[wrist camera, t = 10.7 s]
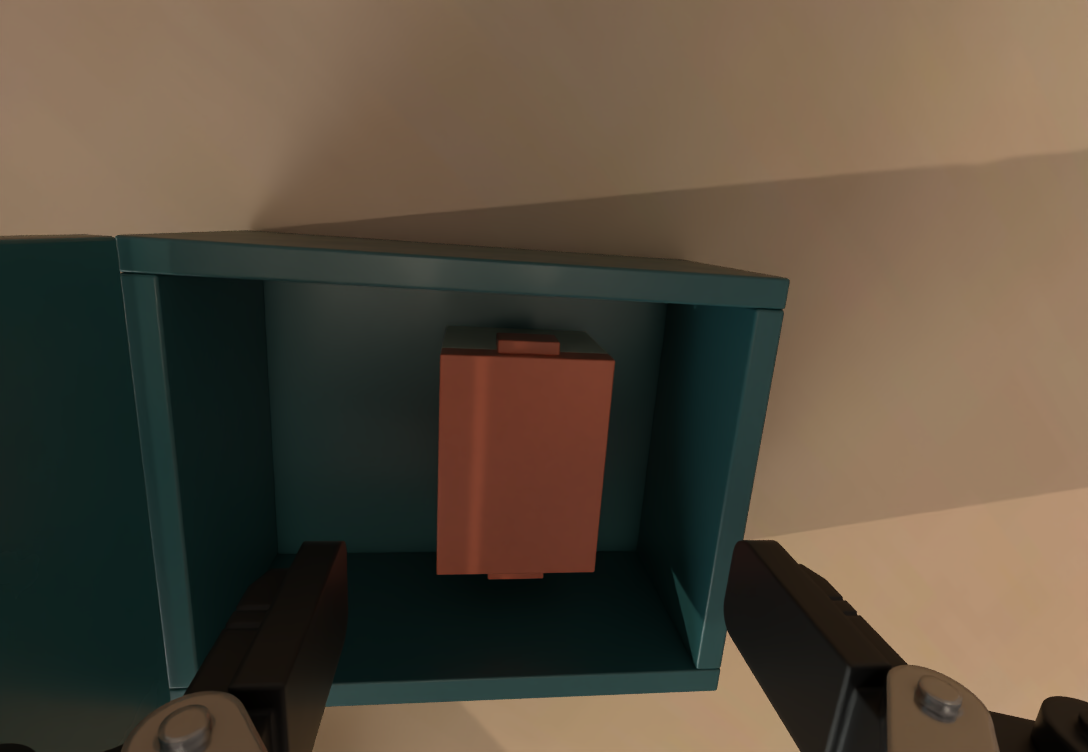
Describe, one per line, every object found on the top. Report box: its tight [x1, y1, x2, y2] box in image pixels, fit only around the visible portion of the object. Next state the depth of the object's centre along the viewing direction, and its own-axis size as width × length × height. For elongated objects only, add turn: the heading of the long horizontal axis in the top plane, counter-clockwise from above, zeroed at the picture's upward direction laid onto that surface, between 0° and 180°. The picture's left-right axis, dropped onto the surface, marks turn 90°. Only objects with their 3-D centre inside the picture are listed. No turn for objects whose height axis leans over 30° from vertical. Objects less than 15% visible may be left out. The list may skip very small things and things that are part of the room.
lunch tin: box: [115, 230, 790, 707], centre depth 18 cm, size 16×13×7 cm
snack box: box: [436, 326, 615, 579], centre depth 19 cm, size 8×5×4 cm, turn 176°
